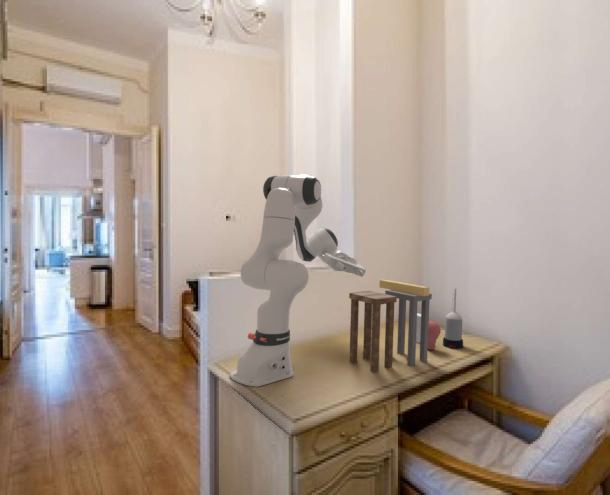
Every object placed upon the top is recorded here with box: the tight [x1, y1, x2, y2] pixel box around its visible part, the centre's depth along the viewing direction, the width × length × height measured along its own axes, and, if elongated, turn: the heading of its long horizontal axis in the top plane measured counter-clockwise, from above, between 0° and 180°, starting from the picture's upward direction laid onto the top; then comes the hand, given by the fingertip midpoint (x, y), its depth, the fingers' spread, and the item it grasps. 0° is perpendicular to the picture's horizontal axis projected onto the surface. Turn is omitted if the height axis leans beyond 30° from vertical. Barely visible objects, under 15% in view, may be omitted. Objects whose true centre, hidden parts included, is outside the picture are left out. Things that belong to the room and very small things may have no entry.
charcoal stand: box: [384, 289, 433, 367], centre depth 149 cm, size 14×10×26 cm
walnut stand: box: [348, 290, 398, 374], centre depth 142 cm, size 14×10×26 cm
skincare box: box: [416, 312, 421, 344], centre depth 173 cm, size 6×4×12 cm
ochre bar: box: [378, 279, 430, 296], centre depth 150 cm, size 22×3×3 cm, turn 35°
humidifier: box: [442, 288, 464, 350], centre depth 167 cm, size 8×8×25 cm
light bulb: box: [428, 320, 442, 351], centre depth 161 cm, size 7×7×12 cm
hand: (353, 271), depth 161 cm, fingers open, 8 cm apart
